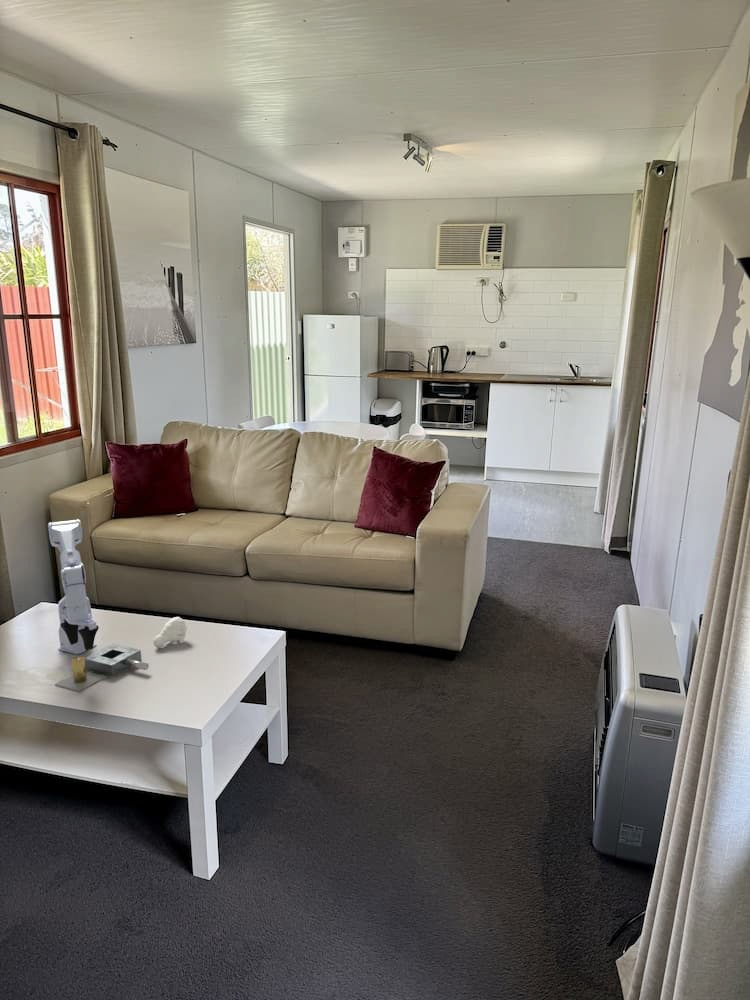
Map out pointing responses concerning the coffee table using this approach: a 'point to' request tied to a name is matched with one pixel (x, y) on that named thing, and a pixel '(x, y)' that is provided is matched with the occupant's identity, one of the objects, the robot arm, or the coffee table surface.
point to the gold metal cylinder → (79, 669)
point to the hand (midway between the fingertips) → (81, 646)
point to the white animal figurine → (171, 632)
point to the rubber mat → (78, 687)
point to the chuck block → (114, 660)
